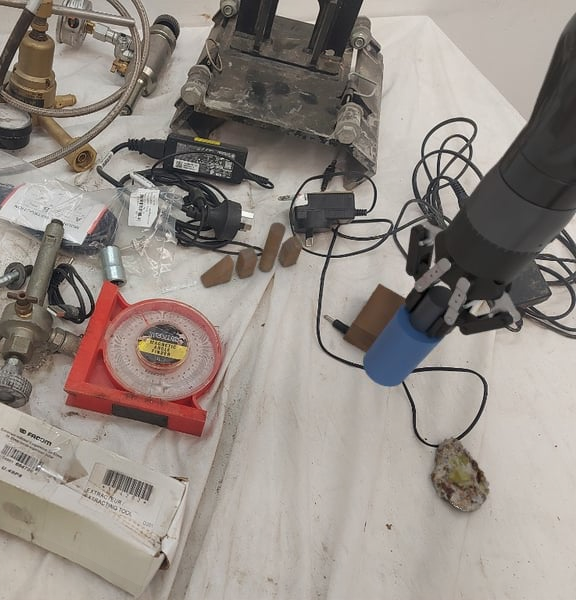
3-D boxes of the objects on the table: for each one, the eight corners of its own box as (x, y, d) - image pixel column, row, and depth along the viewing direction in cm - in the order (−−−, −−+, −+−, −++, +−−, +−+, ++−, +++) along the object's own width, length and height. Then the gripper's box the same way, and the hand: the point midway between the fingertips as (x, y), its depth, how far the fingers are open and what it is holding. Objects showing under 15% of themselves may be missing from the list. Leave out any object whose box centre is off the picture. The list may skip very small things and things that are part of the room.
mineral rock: (507, 511, 78) (459, 504, 76) (483, 519, 82) (437, 513, 80) (482, 436, 85) (438, 428, 83) (461, 447, 88) (418, 439, 86)
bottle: (415, 375, 73) (480, 307, 60) (382, 394, 71) (442, 327, 58) (386, 341, 76) (443, 268, 63) (353, 358, 74) (405, 286, 61)
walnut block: (422, 331, 97) (435, 315, 93) (398, 372, 92) (411, 357, 88) (368, 300, 100) (379, 283, 96) (342, 338, 95) (352, 322, 91)
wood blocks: (289, 254, 104) (304, 215, 96) (295, 265, 103) (311, 226, 95) (159, 287, 98) (163, 249, 90) (164, 299, 97) (168, 261, 88)
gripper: (423, 176, 52) (357, 286, 66) (545, 292, 46) (443, 386, 60) (481, 152, 54) (405, 263, 69) (604, 259, 48) (492, 357, 62)
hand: (423, 320), depth 64 cm, fingers closed on bottle, 3 cm apart
